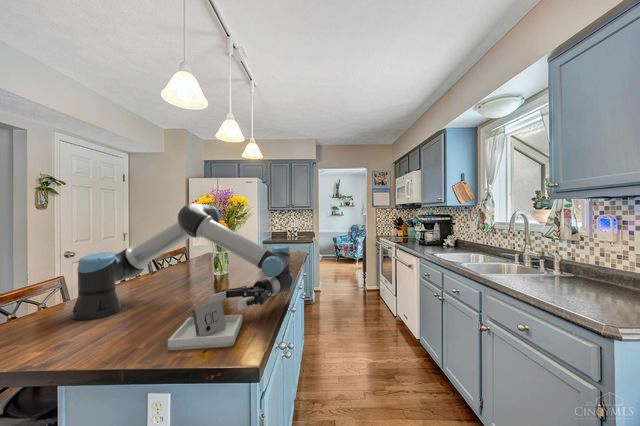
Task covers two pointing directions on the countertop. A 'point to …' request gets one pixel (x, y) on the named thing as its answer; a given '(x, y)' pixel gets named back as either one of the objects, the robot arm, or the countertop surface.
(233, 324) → the white square tray
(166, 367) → the countertop surface
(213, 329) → the electrical switch
